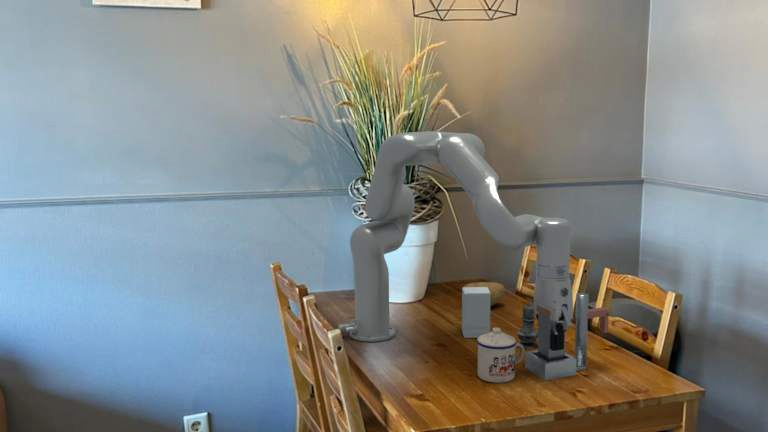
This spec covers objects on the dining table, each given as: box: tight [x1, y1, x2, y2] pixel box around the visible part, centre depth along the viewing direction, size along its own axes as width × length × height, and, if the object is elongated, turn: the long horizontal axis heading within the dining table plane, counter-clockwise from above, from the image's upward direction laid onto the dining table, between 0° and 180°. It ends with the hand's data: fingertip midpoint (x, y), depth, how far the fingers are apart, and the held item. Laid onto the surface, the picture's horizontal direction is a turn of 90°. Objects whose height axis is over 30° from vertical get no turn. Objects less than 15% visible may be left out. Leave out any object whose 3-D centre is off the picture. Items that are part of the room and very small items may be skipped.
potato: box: [463, 281, 506, 307], centre depth 224 cm, size 10×14×8 cm
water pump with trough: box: [524, 292, 610, 381], centre depth 170 cm, size 20×8×18 cm, turn 111°
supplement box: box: [461, 286, 491, 339], centre depth 197 cm, size 7×7×13 cm
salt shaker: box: [516, 301, 538, 350], centre depth 187 cm, size 6×6×12 cm
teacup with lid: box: [476, 327, 525, 384], centre depth 166 cm, size 12×9×12 cm
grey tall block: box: [536, 306, 566, 361], centre depth 168 cm, size 5×5×12 cm
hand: (551, 345), depth 168 cm, fingers closed on grey tall block, 4 cm apart
